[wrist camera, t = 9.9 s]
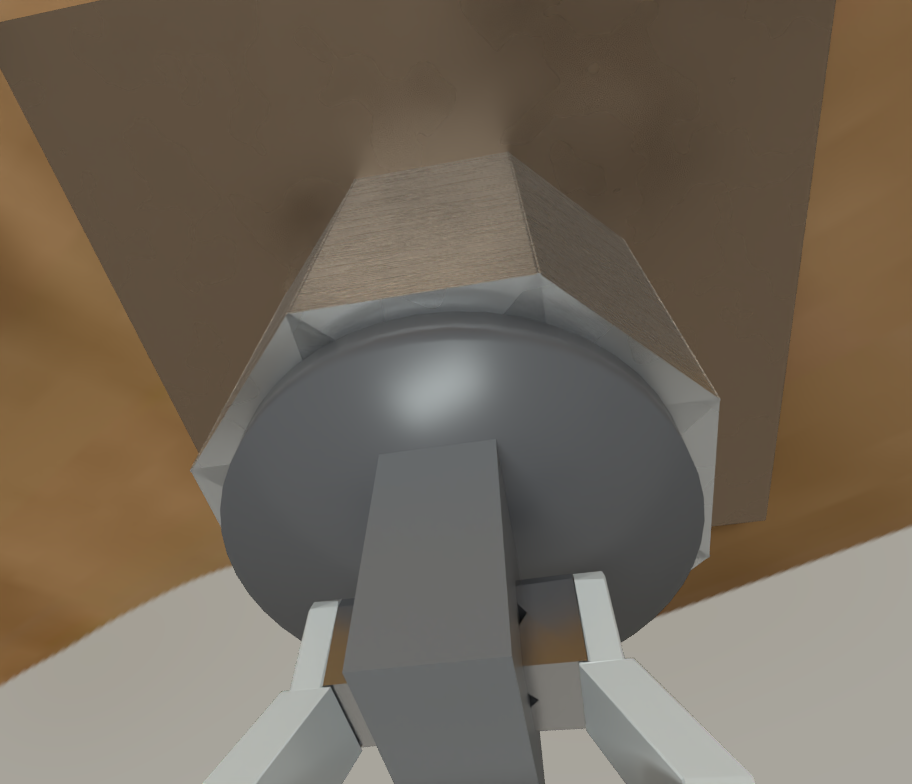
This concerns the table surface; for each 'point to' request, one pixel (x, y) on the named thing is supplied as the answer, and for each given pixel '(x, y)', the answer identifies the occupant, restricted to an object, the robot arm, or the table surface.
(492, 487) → the grey dial knob
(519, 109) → the square base plate
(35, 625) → the table surface
